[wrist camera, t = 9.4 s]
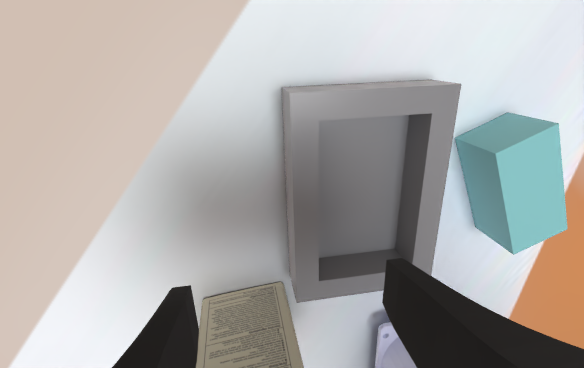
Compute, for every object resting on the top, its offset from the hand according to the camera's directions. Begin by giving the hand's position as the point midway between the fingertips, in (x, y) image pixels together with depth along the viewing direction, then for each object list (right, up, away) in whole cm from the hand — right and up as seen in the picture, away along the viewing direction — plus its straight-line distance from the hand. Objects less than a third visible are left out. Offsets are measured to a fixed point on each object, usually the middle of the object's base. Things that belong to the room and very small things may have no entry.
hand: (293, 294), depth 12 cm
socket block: (+4, +4, +11) cm, 12 cm away
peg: (+15, +5, +12) cm, 20 cm away
